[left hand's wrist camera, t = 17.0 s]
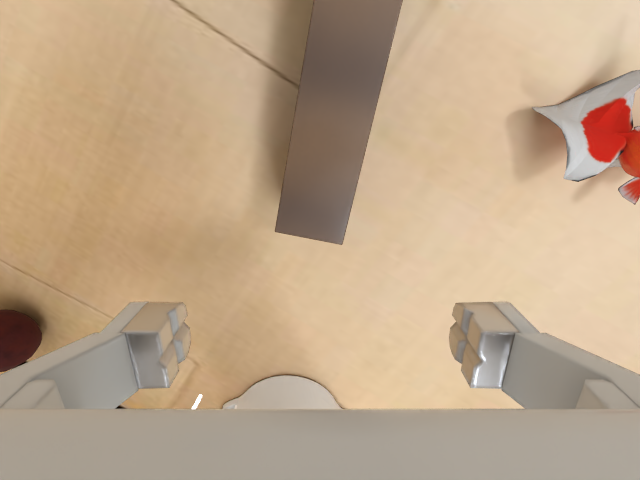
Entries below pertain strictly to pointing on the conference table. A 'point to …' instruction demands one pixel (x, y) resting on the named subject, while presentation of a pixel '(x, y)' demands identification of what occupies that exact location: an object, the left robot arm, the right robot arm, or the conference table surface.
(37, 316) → the conference table surface
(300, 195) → the box
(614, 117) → the fish
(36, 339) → the dark red rounded ball
